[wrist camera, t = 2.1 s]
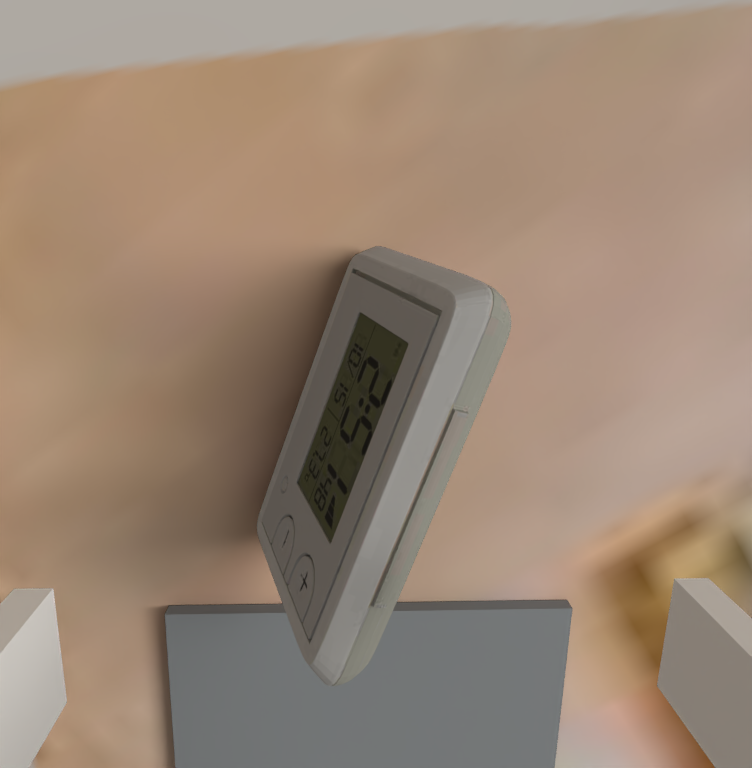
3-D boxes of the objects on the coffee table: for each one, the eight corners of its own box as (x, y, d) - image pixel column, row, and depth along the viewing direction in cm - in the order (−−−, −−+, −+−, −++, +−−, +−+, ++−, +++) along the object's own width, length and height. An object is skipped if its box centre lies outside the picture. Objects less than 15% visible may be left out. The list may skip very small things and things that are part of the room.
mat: (567, 599, 33) (572, 608, 33) (539, 851, 38) (543, 864, 37) (169, 605, 32) (164, 614, 31) (186, 865, 36) (183, 879, 35)
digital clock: (371, 225, 28) (389, 215, 18) (524, 324, 30) (621, 369, 19) (206, 498, 31) (138, 627, 20) (354, 576, 32) (360, 733, 22)
